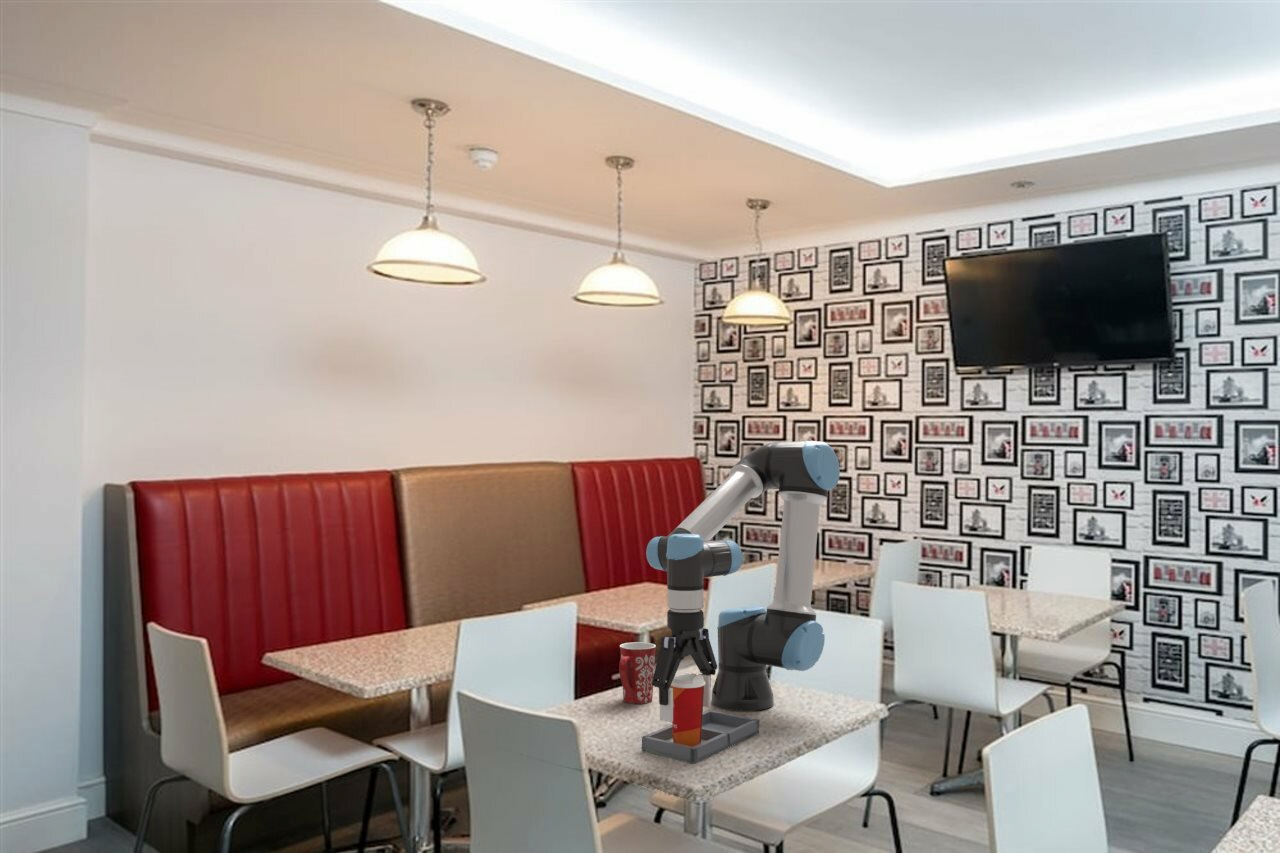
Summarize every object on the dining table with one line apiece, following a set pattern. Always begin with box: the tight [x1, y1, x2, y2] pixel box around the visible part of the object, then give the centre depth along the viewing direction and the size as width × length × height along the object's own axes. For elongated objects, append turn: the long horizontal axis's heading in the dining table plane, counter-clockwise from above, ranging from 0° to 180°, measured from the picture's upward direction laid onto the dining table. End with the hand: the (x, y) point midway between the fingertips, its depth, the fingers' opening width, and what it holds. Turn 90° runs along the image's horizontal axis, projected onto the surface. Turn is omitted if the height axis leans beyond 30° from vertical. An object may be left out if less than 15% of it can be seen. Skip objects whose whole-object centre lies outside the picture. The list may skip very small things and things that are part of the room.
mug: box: [618, 641, 657, 704], centre depth 218 cm, size 13×9×14 cm
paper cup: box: [670, 672, 706, 747], centre depth 182 cm, size 8×8×14 cm
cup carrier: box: [641, 709, 760, 765], centre depth 187 cm, size 25×13×3 cm, turn 142°
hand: (685, 713), depth 182 cm, fingers open, 13 cm apart
